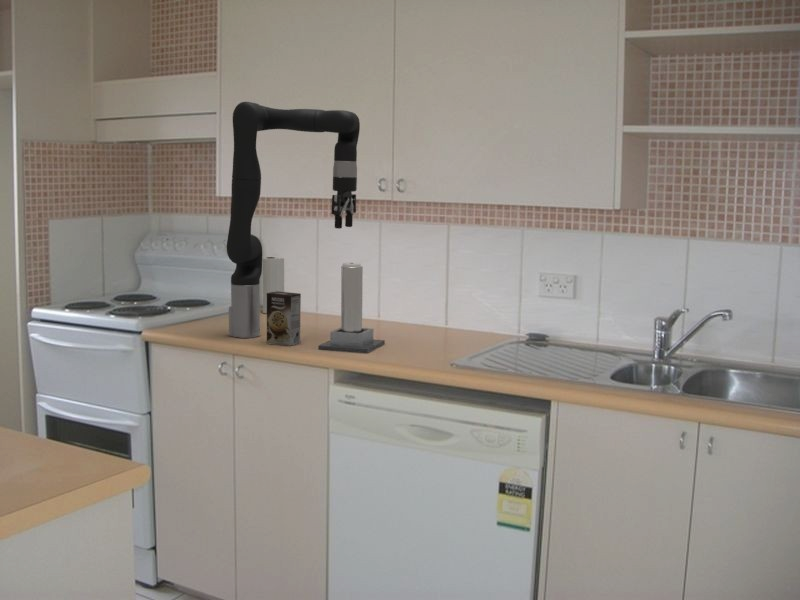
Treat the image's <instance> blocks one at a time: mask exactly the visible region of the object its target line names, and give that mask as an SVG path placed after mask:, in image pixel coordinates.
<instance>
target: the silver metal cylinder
mask: <svg viewBox="0 0 800 600" xmlns="http://www.w3.org/2000/svg"><path fill="white" fill-rule="evenodd" d="M363 268H364V267H363V266H362V265H361V263H360V262H342V266H341V277H340V278H341V279H340V282H341V285H340V286H341V287H340V288H341V291H340V292H341V293H340V294H341V295H340V296H341V297H340V299H341V303H340V304H341V305H340V306H341V307H340V308H341V310H340V311H341V315H340V316H341V318H340V319H341V320H340V321H341V322H340V324H341V325H340V326H341V327H340V328H341V332H349V333H361V332H362V328H363V275H364V274H363V272H364V271H363Z"/></svg>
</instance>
